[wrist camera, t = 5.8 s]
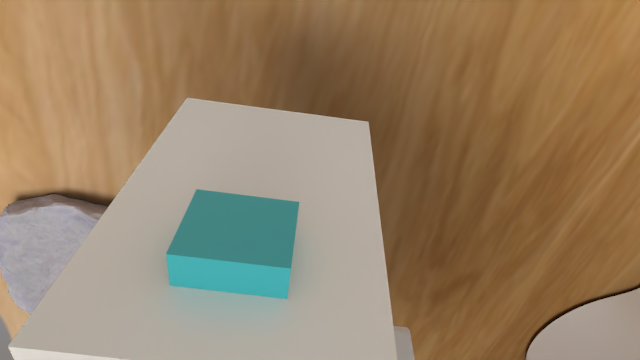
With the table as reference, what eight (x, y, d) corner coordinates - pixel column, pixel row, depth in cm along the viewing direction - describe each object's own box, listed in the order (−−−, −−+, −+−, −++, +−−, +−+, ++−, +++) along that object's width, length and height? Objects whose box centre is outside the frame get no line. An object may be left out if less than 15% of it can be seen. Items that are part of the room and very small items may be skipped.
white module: (373, 99, 10) (413, 360, 5) (323, 329, 15) (314, 582, 10) (185, 74, 10) (-10, 313, 4) (199, 315, 15) (118, 565, 10)
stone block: (18, 175, 30) (45, 289, 34) (-31, 206, 26) (6, 332, 30) (186, 184, 31) (193, 295, 35) (166, 216, 26) (176, 339, 30)
